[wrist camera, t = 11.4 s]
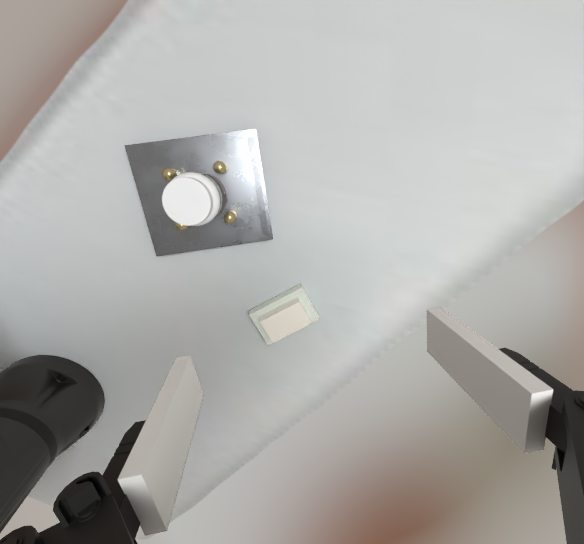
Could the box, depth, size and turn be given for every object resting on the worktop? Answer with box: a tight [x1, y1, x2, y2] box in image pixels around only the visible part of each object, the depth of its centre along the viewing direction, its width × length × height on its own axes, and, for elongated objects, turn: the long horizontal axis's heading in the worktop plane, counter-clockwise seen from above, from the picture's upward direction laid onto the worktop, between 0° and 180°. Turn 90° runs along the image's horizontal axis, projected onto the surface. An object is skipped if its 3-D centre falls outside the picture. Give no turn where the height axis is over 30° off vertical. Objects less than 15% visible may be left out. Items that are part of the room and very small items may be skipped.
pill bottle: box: [162, 172, 227, 226], centre depth 33 cm, size 6×6×10 cm
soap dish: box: [249, 284, 320, 345], centre depth 44 cm, size 9×6×3 cm, turn 117°
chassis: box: [125, 129, 273, 256], centre depth 37 cm, size 16×14×4 cm
